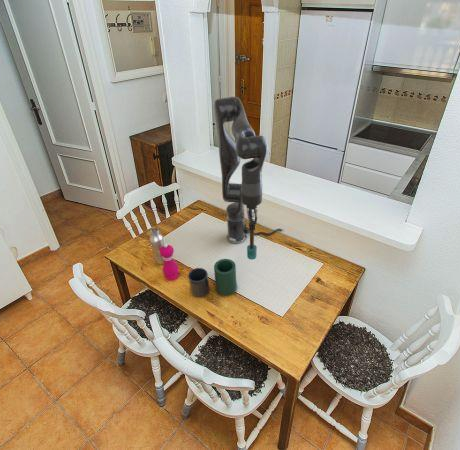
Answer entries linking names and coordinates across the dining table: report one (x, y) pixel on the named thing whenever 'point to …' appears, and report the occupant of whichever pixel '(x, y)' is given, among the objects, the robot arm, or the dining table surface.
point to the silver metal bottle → (156, 245)
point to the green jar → (225, 277)
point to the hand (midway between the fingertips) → (251, 228)
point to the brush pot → (198, 282)
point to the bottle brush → (251, 247)
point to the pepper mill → (169, 262)
